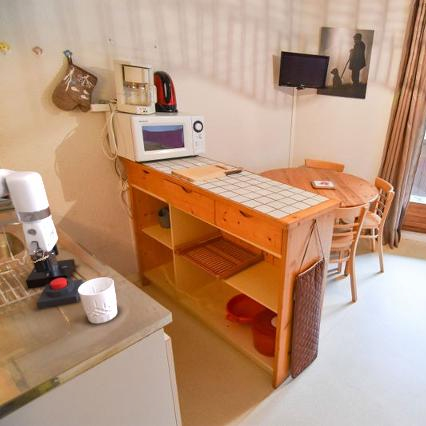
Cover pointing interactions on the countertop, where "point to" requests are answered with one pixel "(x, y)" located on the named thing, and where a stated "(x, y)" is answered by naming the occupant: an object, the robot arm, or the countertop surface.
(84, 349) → the countertop surface
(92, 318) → the white cup
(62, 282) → the button
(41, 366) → the countertop surface
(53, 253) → the stove knob
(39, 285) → the stove panel
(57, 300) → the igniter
